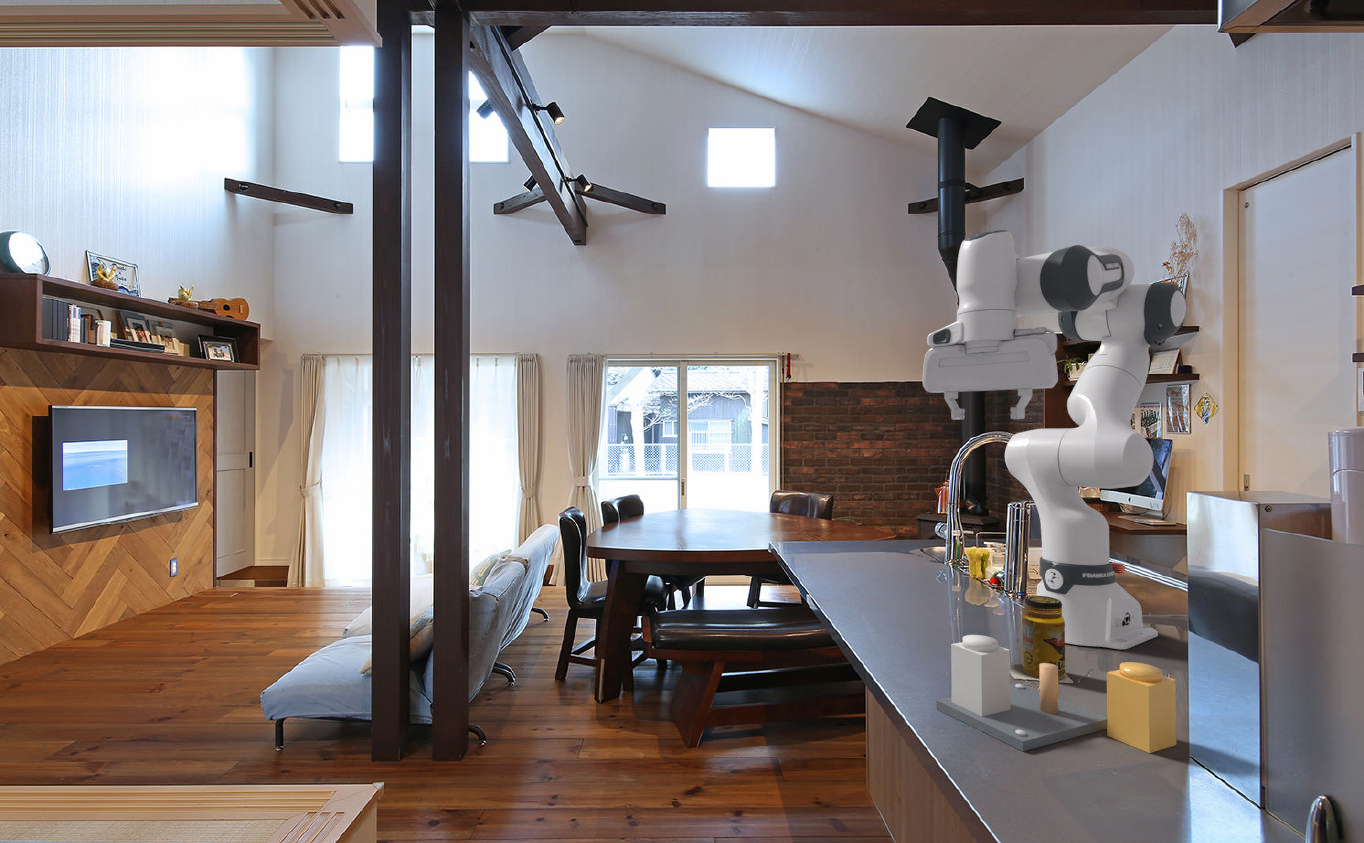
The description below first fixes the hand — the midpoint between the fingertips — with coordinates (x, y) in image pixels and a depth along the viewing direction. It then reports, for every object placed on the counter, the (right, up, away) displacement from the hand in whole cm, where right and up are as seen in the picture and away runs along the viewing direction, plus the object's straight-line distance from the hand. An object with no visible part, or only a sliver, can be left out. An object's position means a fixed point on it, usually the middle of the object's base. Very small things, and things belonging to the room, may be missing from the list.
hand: (986, 419), depth 110 cm
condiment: (+8, -41, 0) cm, 42 cm away
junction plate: (-3, -40, -17) cm, 44 cm away
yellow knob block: (+9, -40, -24) cm, 47 cm away
